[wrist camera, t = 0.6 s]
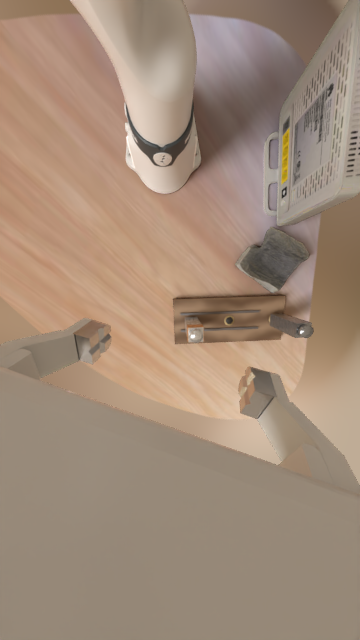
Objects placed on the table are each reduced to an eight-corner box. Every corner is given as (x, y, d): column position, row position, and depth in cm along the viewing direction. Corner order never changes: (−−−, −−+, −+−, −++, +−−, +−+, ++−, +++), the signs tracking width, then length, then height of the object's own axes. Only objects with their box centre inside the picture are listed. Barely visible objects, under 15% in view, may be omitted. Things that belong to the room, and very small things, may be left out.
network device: (293, 227, 48) (375, 191, 28) (263, 230, 48) (325, 197, 28) (298, 114, 42) (408, -30, 22) (264, 117, 41) (344, -24, 22)
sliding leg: (184, 316, 50) (188, 329, 37) (196, 315, 50) (204, 328, 38) (184, 328, 51) (188, 344, 38) (196, 328, 51) (204, 344, 39)
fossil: (304, 255, 50) (314, 253, 46) (267, 296, 53) (274, 298, 49) (268, 219, 47) (276, 214, 44) (231, 265, 50) (236, 264, 46)
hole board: (173, 298, 51) (173, 299, 49) (281, 295, 52) (287, 295, 50) (174, 341, 54) (174, 344, 52) (276, 337, 56) (281, 340, 53)
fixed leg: (268, 313, 51) (300, 324, 39) (280, 312, 51) (315, 324, 39) (267, 324, 52) (298, 339, 39) (278, 324, 52) (313, 338, 40)
